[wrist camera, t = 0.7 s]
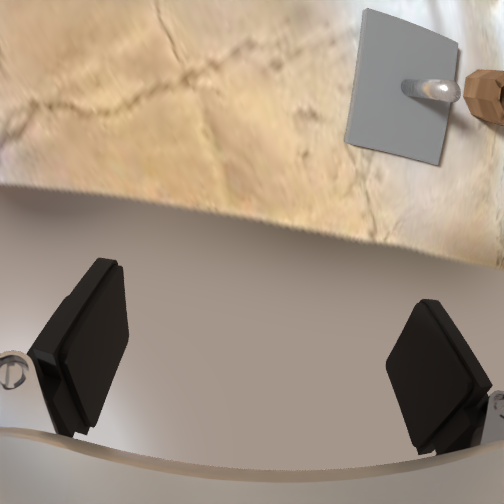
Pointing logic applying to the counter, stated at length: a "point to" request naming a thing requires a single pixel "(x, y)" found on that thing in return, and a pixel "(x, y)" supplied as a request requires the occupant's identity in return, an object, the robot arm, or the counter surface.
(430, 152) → the rod board
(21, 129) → the counter surface
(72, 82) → the counter surface
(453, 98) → the metal rod
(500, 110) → the walnut bead
